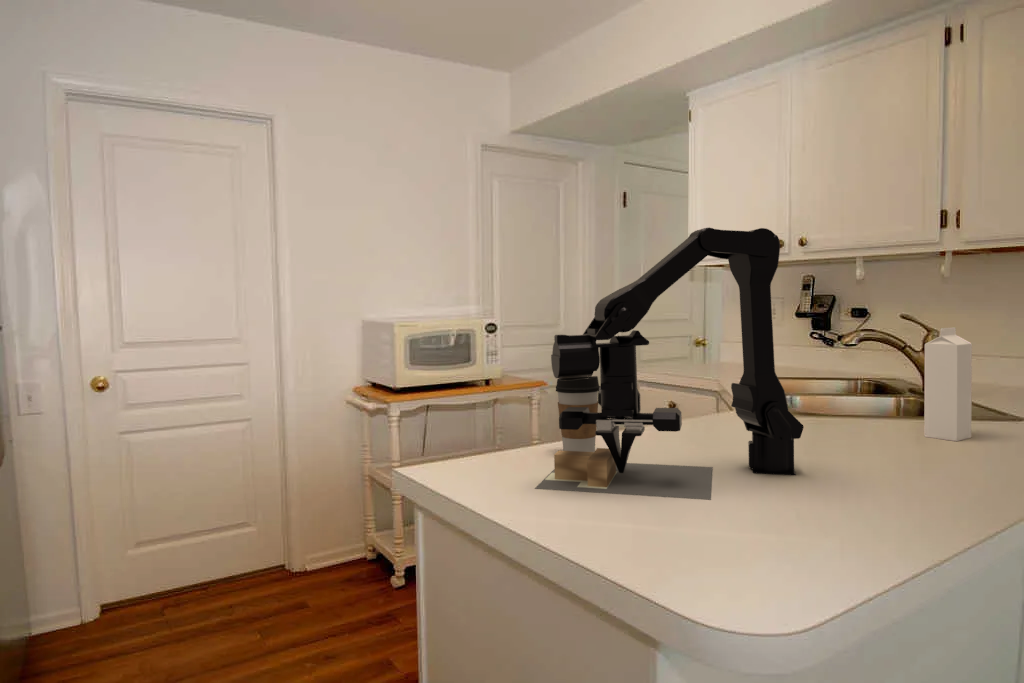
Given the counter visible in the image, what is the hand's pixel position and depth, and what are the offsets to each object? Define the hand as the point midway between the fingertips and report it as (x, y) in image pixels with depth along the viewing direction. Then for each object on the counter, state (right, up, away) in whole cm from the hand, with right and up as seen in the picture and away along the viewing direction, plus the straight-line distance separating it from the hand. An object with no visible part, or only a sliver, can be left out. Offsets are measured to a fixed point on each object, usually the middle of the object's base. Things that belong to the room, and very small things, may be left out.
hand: (621, 472), depth 102 cm
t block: (-6, -1, +2) cm, 6 cm away
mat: (+1, -2, +2) cm, 3 cm away
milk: (+70, +1, +27) cm, 75 cm away
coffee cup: (-5, -1, +21) cm, 21 cm away
